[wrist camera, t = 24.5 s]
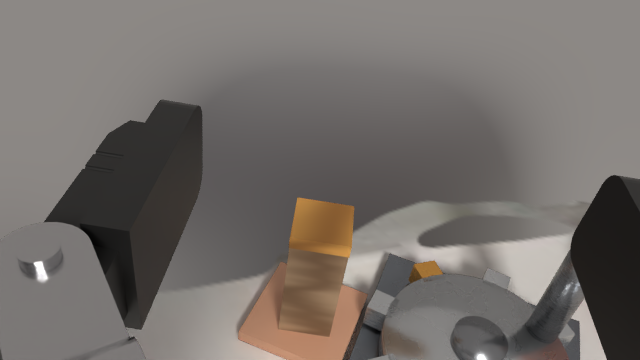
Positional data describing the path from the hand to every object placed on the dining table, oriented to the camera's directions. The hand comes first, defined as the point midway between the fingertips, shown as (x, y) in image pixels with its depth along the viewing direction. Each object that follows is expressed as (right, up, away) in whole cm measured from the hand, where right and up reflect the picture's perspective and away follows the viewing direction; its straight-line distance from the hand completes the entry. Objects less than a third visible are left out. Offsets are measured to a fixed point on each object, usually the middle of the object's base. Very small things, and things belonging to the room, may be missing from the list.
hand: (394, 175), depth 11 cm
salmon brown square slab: (-3, -11, +34) cm, 36 cm away
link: (-3, -11, +33) cm, 35 cm away
